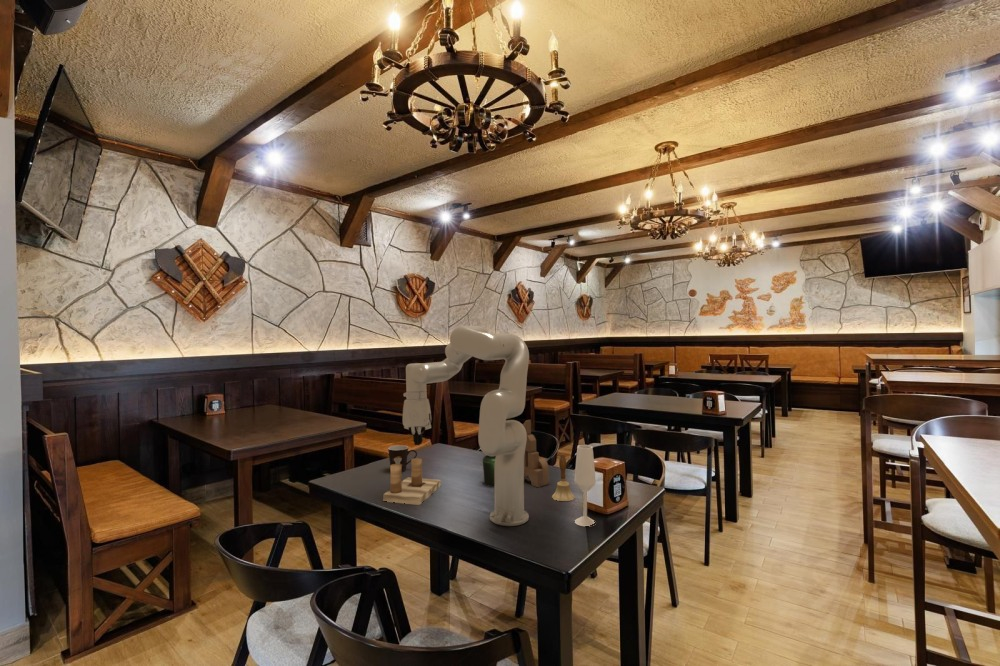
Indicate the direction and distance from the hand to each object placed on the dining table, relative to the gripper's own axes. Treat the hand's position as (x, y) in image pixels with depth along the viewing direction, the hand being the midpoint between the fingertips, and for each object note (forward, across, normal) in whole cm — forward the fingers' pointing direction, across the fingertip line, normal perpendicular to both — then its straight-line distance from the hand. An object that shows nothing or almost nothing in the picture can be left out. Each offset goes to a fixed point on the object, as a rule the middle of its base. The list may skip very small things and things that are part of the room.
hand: (418, 444), depth 175 cm
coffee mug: (+17, -18, +23) cm, 34 cm away
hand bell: (+20, +54, +7) cm, 58 cm away
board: (+18, -2, -2) cm, 18 cm away
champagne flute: (+21, +62, -13) cm, 67 cm away
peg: (+18, -1, +1) cm, 18 cm away
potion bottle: (+19, +24, +16) cm, 35 cm away
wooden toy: (+19, +38, +23) cm, 49 cm away
